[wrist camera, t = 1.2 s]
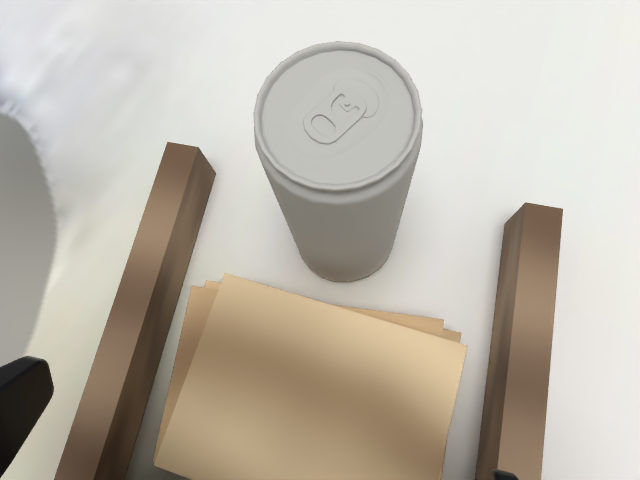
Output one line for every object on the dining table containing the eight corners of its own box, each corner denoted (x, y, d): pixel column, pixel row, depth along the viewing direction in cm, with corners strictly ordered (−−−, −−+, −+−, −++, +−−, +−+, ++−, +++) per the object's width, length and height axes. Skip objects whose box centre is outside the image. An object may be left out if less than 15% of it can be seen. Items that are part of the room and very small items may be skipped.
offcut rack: (498, 639, 19) (546, 727, 14) (76, 519, 21) (-5, 560, 16) (537, 229, 24) (583, 191, 19) (188, 168, 26) (150, 120, 21)
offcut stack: (427, 531, 20) (447, 572, 16) (165, 462, 22) (117, 483, 17) (454, 332, 22) (478, 320, 18) (215, 282, 24) (185, 261, 20)
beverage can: (412, 239, 24) (465, 109, 12) (344, 305, 23) (334, 232, 12) (345, 177, 25) (337, 8, 14) (279, 239, 24) (212, 113, 13)
